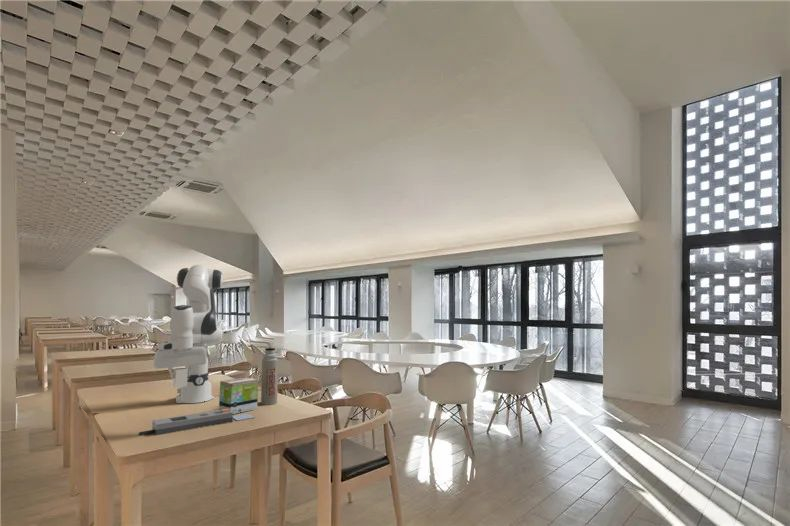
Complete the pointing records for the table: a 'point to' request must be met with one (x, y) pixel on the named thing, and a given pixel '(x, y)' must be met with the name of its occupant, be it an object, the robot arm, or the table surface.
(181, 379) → the charger
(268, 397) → the thermos bottle
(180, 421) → the power strip
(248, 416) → the felt pad
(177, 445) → the table surface
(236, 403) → the tea box
